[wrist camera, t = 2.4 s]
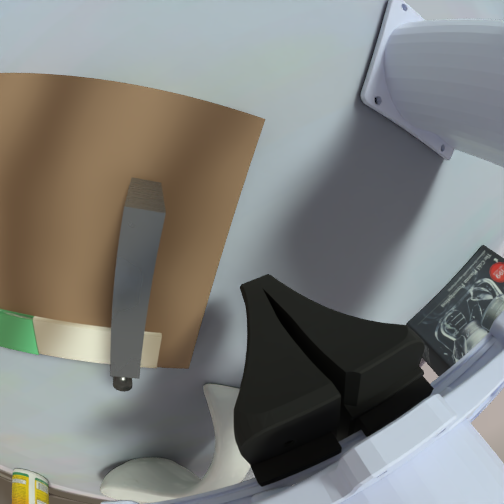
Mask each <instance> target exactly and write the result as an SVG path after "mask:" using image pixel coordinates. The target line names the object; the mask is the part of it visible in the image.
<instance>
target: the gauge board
mask: <svg viewBox="0 0 504 504" xmlns="http://www.w3.org/2000/svg"><path fill="white" fill-rule="evenodd" d="M264 122H265V119H263V118H260V117H257V116H254V115H251V114H248V113H245V112H242V111H238V110H235V109H232V108H229V107H225V106H222V105H218V104H215V103H211V102H208V101H204V100H200V99H196V98H192V97H188V96H184V95H180V94H176V93H172V92H167V91H163V90H158V89H153V88H148V87H143V86H138V85H133V84H127V83H121V82H115V81H108V80H101V79H94V78H85V77H76V76H66V75H53V74H35V73H0V346H1V347H5V348H9V349H13V350H18V351H22V352H27V353H32V354H37V355H39V354H43V355H49V356H55V357H60V358H67V359H73V360H80V361H87V362H95V363H103V364H110V350H111V320H112V303H113V290H114V279H115V269H116V260H117V251H118V244H119V236H120V230H121V223H122V217H123V211H124V205H125V201H126V197H127V193H128V189H129V185H130V182H131V178H132V177H133V178H138V179H144V180H149V181H155V182H160V183H161V184H162V191H163V198H164V205H165V211H166V215H165V219H164V224H163V229H162V233H161V238H160V243H159V248H158V253H157V258H156V263H155V269H154V274H153V280H152V286H151V291H150V298H149V304H148V311H147V317H146V324H145V332H144V339H143V348H142V356H141V366H140V367H146V368H157V367H162V368H185V369H189V366H190V362H191V358H192V355H193V351H194V347H195V344H196V340H197V337H198V333H199V330H200V326H201V323H202V319H203V316H204V312H205V309H206V305H207V302H208V298H209V295H210V292H211V288H212V285H213V281H214V278H215V275H216V271H217V268H218V265H219V261H220V258H221V255H222V252H223V248H224V245H225V242H226V239H227V235H228V232H229V229H230V226H231V222H232V219H233V216H234V213H235V210H236V207H237V203H238V200H239V197H240V194H241V191H242V188H243V185H244V182H245V179H246V175H247V172H248V169H249V166H250V163H251V160H252V157H253V154H254V151H255V148H256V145H257V142H258V139H259V136H260V133H261V130H262V127H263V125H264Z"/></svg>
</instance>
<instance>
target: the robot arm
mask: <svg viewBox="0 0 504 504" xmlns="http://www.w3.org/2000/svg"><path fill="white" fill-rule="evenodd" d="M402 8H403V9H402ZM375 97H376V98H377V103H376V104H375ZM361 100H362V102H363V103H364V104H366V105H367V106H369V107H371V108H372V109H374V110H376V111H377V112H379V113H380V114H382V115H384V116H385V117H387V118H388V119H390V120H391V121H393V122H394V123H396V124H397V125H399V126H400V127H402V128H403V129H405V130H406V131H408V132H409V133H410V134H412V135H413V136H415V137H416V138H417V139H419V140H420V141H422V142H423V143H424V144H426V145H427V146H428V147H430V148H431V149H432V150H434V151H435V152H436V153H437V154H439V155H440V156H441V157H442V158H444V159H447V160H449V159H450V158H451V157H452V154H453V151H454V149H456V150H459V151H462V152H465V153H468V154H470V155H473V156H476V157H479V158H481V159H484V160H486V161H489V162H492V163H494V164H497V165H499V166H501V167H504V20H494V19H440V20H424V19H423V18H422V17H421V16H420V15H419V14H418V13H417V12H416V11H415V10H414V9H412V8H411V7H410V6H409V5H408V4H407V3H406V2H404V1H403V0H389V1H388V5H387V8H386V12H385V16H384V19H383V23H382V26H381V30H380V33H379V36H378V40H377V43H376V47H375V50H374V53H373V56H372V60H371V63H370V66H369V69H368V73H367V76H366V79H365V82H364V85H363V88H362V91H361ZM240 290H241V293H242V296H243V299H244V302H245V305H246V313H247V352H246V361H245V368H244V373H243V378H242V382H241V387H240V391H239V394H238V397H237V400H236V404H235V407H234V436H235V441H236V444H237V446H238V449H239V451H240V454H241V455H242V457H243V458H244V459H245V460H246V461H247V462H248V463H249V464H250V465H251V468H252V470H253V473H254V475H255V478H252V479H249V480H246V481H243V482H240V483H237V484H234V485H230V486H227V487H223V488H220V489H216V490H212V491H208V492H204V493H200V494H196V495H192V496H187V497H182V498H177V499H172V500H166V501H160V502H154V503H147V504H504V463H503V462H502V461H501V460H500V458H499V457H498V456H497V454H496V453H495V452H494V451H493V450H492V448H491V447H490V446H489V445H488V443H487V442H486V441H485V440H484V439H483V437H482V436H481V435H480V434H479V433H478V431H477V430H476V429H475V428H474V427H473V425H472V424H471V422H472V421H473V420H474V419H475V418H476V417H477V416H478V415H479V414H480V413H481V412H482V411H483V410H484V409H485V408H486V407H487V406H488V405H489V404H490V403H491V401H492V400H493V399H494V398H495V397H496V396H497V395H498V394H499V392H500V391H501V390H502V389H503V388H504V310H503V311H502V312H501V313H500V314H499V315H498V317H497V318H496V319H495V320H494V322H493V324H492V326H491V328H490V331H489V333H488V334H487V335H486V336H485V337H484V338H483V339H482V340H481V341H480V342H479V343H477V344H476V345H475V346H474V347H473V348H472V349H471V350H470V351H469V352H468V353H467V354H466V355H464V356H463V357H462V358H461V359H460V360H459V361H458V362H456V363H455V364H454V365H453V366H452V367H450V368H449V369H448V370H447V371H446V372H444V373H443V374H442V375H441V376H439V377H438V378H437V379H436V380H434V381H433V382H432V383H431V384H429V383H428V382H427V380H426V379H425V378H424V377H423V375H424V372H423V370H422V369H421V368H420V367H419V364H420V361H421V358H422V355H423V352H424V347H425V344H424V341H423V340H422V339H421V338H420V337H419V336H418V335H417V334H416V333H415V332H414V331H413V330H411V329H410V328H409V327H408V326H407V325H399V324H388V323H380V322H375V321H369V320H365V319H360V318H357V317H353V316H349V315H346V314H343V313H340V312H337V311H334V310H332V309H329V308H327V307H325V306H322V305H320V304H318V303H316V302H314V301H312V300H310V299H308V298H306V297H304V296H303V295H301V294H299V293H297V292H296V291H294V290H292V289H291V288H289V287H287V286H286V285H284V284H283V283H281V282H280V281H278V280H277V279H275V278H274V277H273V276H271V275H269V274H267V275H265V276H262V277H260V278H257V279H254V280H252V281H249V282H247V283H244V284H242V285H241V286H240ZM294 484H295V485H294ZM292 485H293V486H292ZM101 504H139V503H138V502H135V501H132V500H118V501H105V502H101Z"/></svg>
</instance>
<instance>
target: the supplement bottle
mask: <svg viewBox="0 0 504 504" xmlns="http://www.w3.org/2000/svg"><path fill="white" fill-rule="evenodd" d="M12 504H49V492H48V481H47V479H46V478H44V477H43V476H41V475H39V474H37V473H34V472H32V471H28V470H24V469H19V468H17V469H14V470H13V479H12Z"/></svg>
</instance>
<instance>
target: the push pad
mask: <svg viewBox="0 0 504 504" xmlns="http://www.w3.org/2000/svg"><path fill="white" fill-rule="evenodd" d="M165 215H166V211H165V205H164V198H163V191H162V184H161V183H160V182H155V181H149V180H144V179H138V178H133V177H132V178H131V182H130V185H129V189H128V193H127V197H126V201H125V205H124V211H123V217H122V223H121V230H120V236H119V244H118V251H117V260H116V269H115V279H114V290H113V303H112V320H111V350H110V376H113V386H114V388H115V389H117V390H119V391H129V390H130V389H131V388H132V378H139V376H140V366H141V356H142V348H143V339H144V332H145V324H146V317H147V311H148V304H149V298H150V291H151V286H152V280H153V274H154V269H155V263H156V258H157V253H158V248H159V243H160V238H161V233H162V229H163V224H164V219H165Z"/></svg>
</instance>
